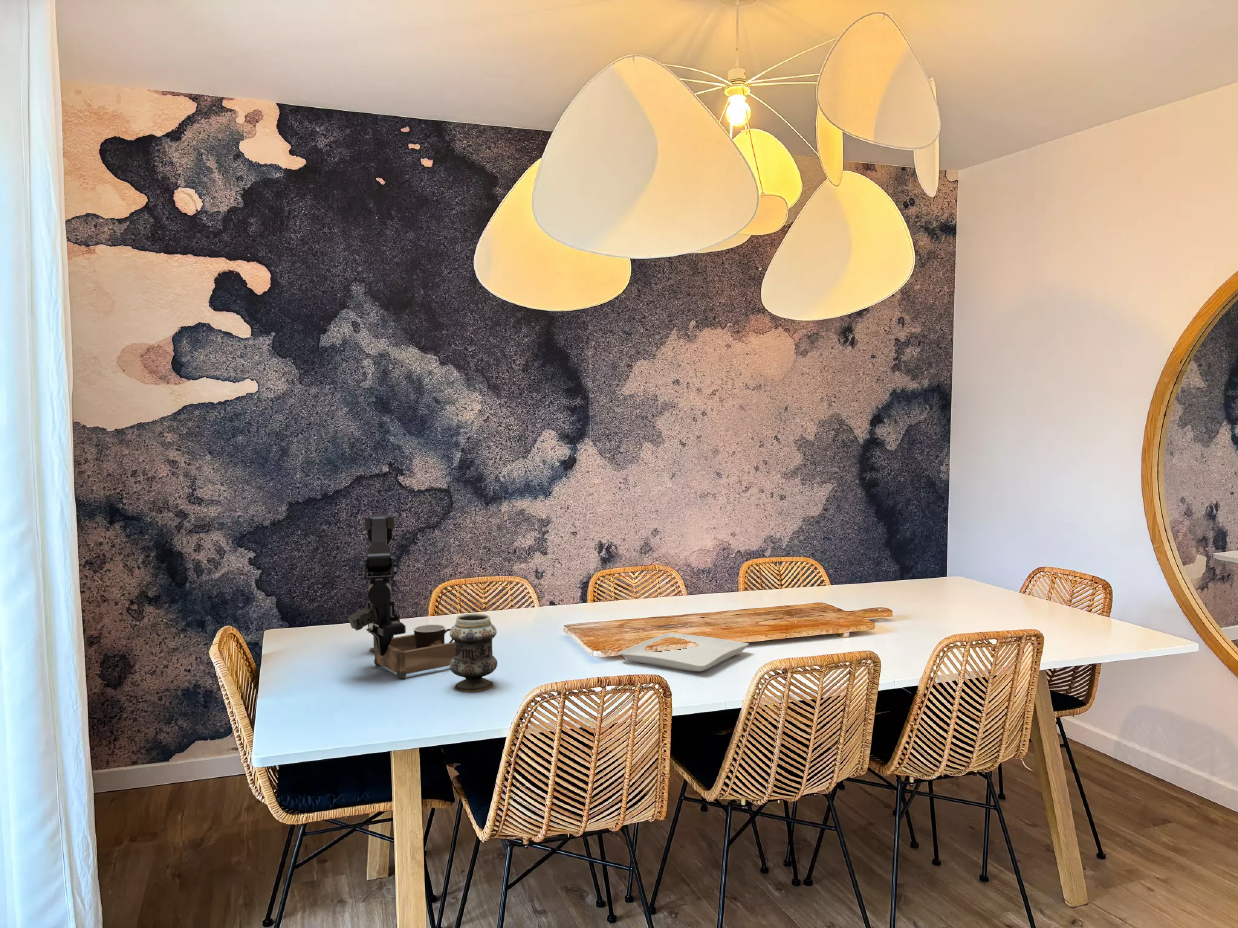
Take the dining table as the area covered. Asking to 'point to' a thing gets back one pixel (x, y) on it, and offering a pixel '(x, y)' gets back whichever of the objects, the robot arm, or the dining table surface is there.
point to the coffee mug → (429, 635)
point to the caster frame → (413, 656)
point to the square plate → (686, 653)
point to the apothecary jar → (473, 651)
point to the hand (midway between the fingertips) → (382, 655)
